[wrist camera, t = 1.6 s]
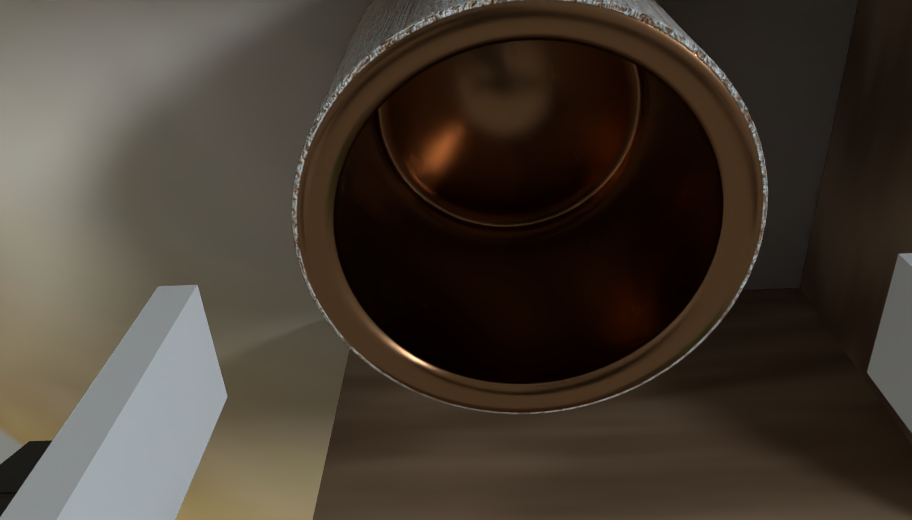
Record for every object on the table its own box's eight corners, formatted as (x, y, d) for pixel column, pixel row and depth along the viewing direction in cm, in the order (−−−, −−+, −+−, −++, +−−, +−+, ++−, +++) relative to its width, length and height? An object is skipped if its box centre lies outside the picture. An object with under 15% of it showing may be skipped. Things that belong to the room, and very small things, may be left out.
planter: (302, 176, 27) (230, 337, 18) (418, -141, 22) (388, -116, 13) (573, 281, 29) (617, 468, 20) (737, 15, 24) (882, 121, 15)
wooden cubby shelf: (281, -210, 21) (96, -238, 10) (957, -258, 20) (1487, -340, 10) (362, 332, 30) (308, 602, 20) (825, 312, 29) (1023, 583, 19)
